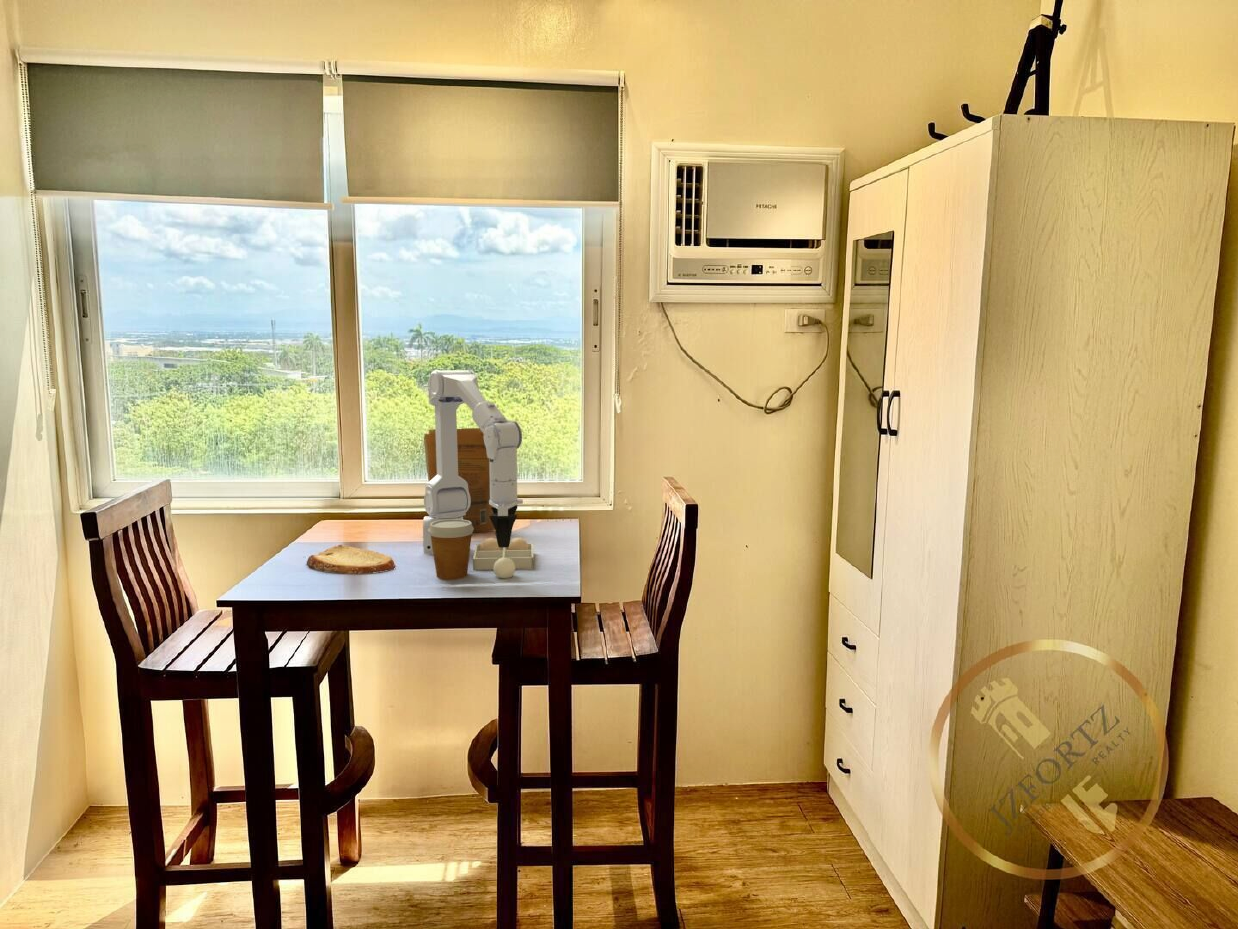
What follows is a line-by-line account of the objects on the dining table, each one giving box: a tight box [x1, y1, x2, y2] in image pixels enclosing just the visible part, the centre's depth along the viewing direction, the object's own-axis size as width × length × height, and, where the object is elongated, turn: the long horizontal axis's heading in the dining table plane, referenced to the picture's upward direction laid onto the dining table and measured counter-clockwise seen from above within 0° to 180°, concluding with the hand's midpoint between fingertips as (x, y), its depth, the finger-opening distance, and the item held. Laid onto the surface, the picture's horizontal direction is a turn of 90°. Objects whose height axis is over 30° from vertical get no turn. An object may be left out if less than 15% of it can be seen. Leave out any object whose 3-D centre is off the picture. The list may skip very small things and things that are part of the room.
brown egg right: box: [508, 537, 528, 550], centre depth 187 cm, size 5×5×5 cm
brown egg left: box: [480, 537, 500, 551], centre depth 186 cm, size 5×5×5 cm
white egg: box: [493, 558, 516, 579], centre depth 171 cm, size 5×5×5 cm
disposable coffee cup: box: [428, 519, 474, 581], centre depth 171 cm, size 10×10×12 cm
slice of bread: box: [306, 544, 397, 575], centre depth 181 cm, size 18×18×4 cm
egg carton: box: [472, 542, 534, 571], centre depth 183 cm, size 13×13×3 cm
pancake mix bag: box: [423, 427, 495, 534], centre depth 213 cm, size 7×19×28 cm, turn 92°
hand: (504, 542), depth 170 cm, fingers open, 7 cm apart
